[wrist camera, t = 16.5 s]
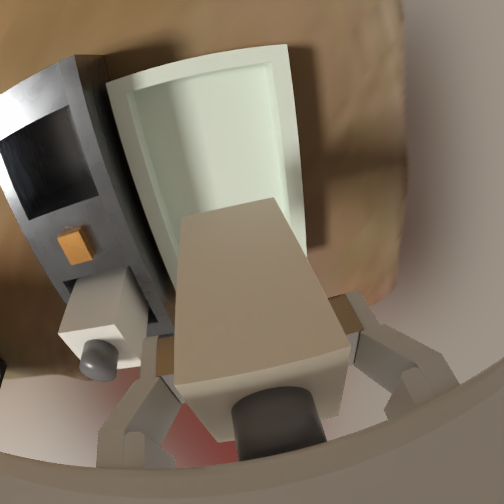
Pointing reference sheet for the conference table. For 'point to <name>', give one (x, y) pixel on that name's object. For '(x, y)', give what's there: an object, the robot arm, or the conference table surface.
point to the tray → (211, 139)
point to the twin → (255, 332)
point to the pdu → (78, 184)
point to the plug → (106, 323)
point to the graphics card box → (2, 371)
